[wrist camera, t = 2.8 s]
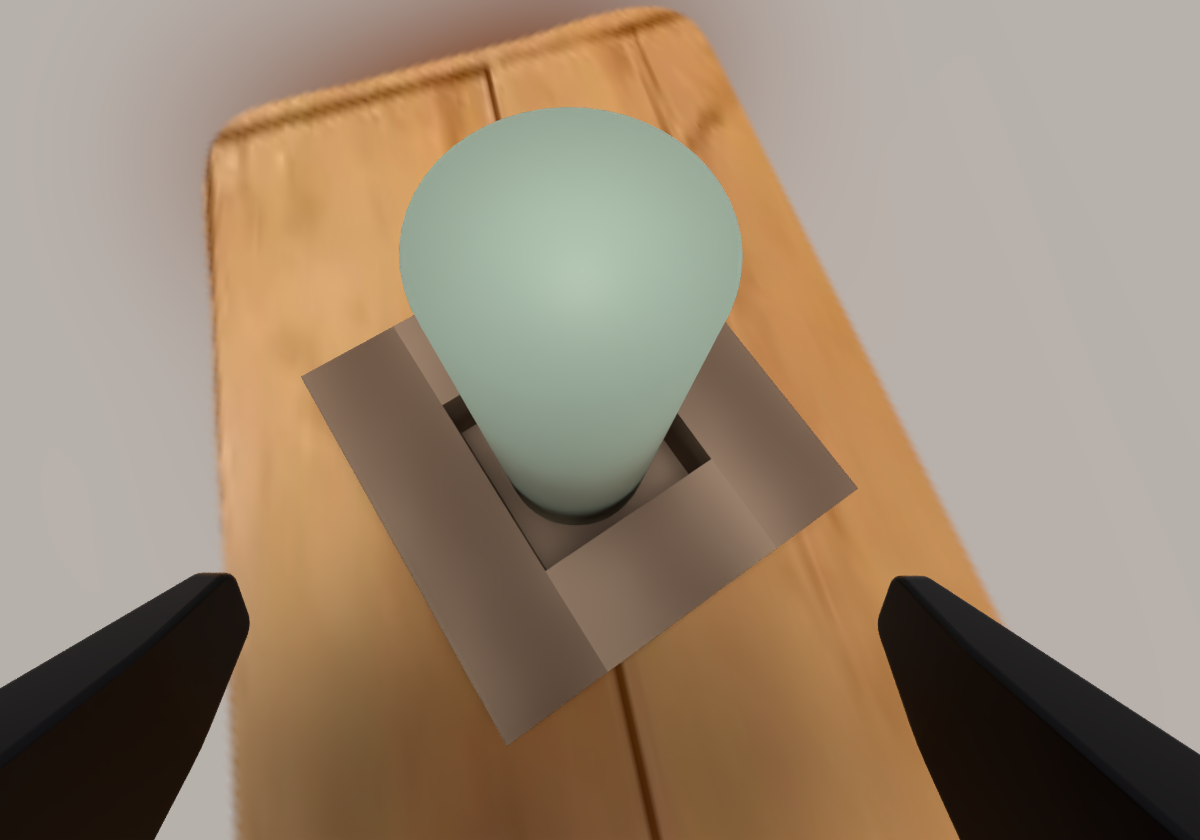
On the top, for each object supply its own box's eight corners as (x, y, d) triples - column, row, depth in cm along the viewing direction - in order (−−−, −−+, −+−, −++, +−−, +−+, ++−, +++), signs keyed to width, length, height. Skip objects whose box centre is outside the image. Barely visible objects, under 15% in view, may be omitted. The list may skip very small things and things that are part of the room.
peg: (555, 553, 19) (515, 474, 7) (481, 436, 20) (338, 197, 8) (672, 475, 20) (811, 288, 8) (595, 367, 21) (617, 62, 9)
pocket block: (520, 719, 18) (506, 746, 15) (345, 413, 21) (300, 376, 17) (812, 507, 20) (858, 488, 17) (620, 257, 23) (627, 199, 20)
